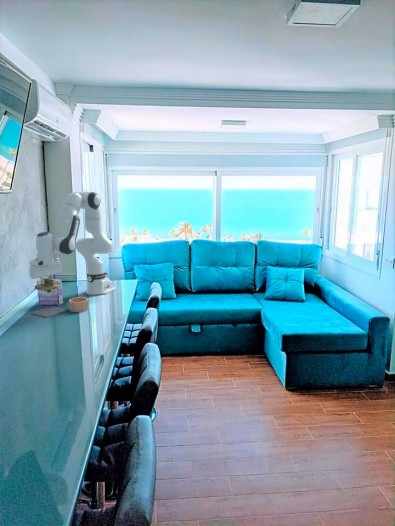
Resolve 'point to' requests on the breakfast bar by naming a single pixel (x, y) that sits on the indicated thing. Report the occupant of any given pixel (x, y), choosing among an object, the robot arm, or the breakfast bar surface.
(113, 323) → the breakfast bar surface
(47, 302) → the candy box
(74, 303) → the terracotta bowl
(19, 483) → the breakfast bar surface
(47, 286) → the walnut lid
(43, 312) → the charcoal mat
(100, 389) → the breakfast bar surface
